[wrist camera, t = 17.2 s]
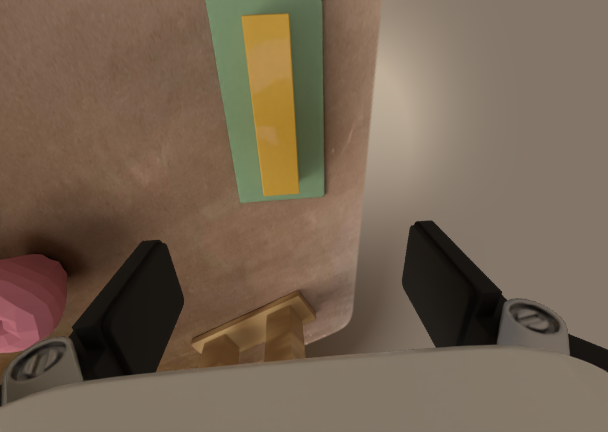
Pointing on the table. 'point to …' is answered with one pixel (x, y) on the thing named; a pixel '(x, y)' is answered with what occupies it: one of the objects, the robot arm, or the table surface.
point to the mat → (237, 96)
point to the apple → (30, 300)
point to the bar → (272, 100)
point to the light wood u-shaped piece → (259, 333)
